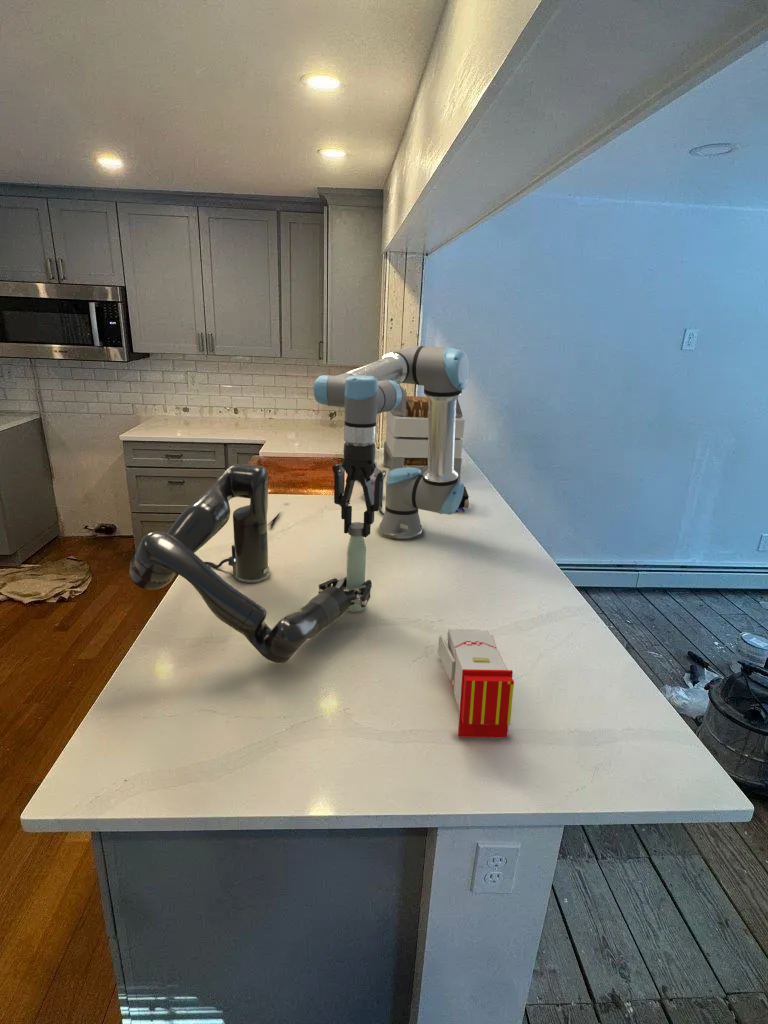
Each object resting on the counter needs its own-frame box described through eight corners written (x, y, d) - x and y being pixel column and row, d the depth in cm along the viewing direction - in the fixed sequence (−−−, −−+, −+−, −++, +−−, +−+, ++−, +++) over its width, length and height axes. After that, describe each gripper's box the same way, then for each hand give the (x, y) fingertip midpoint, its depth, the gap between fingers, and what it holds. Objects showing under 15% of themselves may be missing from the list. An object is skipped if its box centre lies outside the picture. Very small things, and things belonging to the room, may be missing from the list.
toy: (488, 613, 130) (523, 677, 101) (484, 667, 133) (517, 744, 104) (435, 612, 130) (455, 676, 101) (432, 666, 133) (451, 743, 103)
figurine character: (469, 517, 223) (463, 501, 236) (471, 500, 219) (465, 484, 233) (452, 516, 222) (447, 500, 236) (454, 499, 219) (449, 483, 232)
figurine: (367, 502, 230) (368, 467, 225) (357, 495, 238) (358, 460, 233) (388, 500, 234) (389, 465, 229) (377, 492, 242) (378, 458, 237)
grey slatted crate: (382, 463, 289) (386, 382, 275) (445, 464, 293) (451, 384, 279) (390, 482, 257) (394, 392, 243) (460, 483, 261) (468, 394, 247)
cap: (347, 529, 145) (347, 522, 144) (365, 529, 145) (365, 522, 144) (348, 536, 140) (348, 528, 140) (367, 536, 141) (367, 528, 140)
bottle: (344, 603, 151) (346, 525, 144) (361, 602, 153) (364, 524, 145) (348, 612, 147) (349, 532, 139) (365, 610, 148) (368, 531, 141)
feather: (287, 506, 225) (290, 502, 224) (270, 530, 198) (272, 526, 198) (283, 504, 225) (286, 500, 224) (265, 527, 198) (268, 523, 197)
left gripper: (301, 613, 140) (337, 586, 154) (351, 630, 134) (384, 600, 148) (300, 586, 137) (338, 561, 152) (352, 601, 131) (385, 574, 146)
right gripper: (399, 444, 135) (395, 534, 143) (333, 435, 141) (332, 522, 149) (388, 450, 128) (383, 545, 136) (319, 441, 135) (318, 532, 142)
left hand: (360, 580), depth 150 cm, fingers closed on bottle, 4 cm apart
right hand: (357, 533), depth 143 cm, fingers open, 5 cm apart
